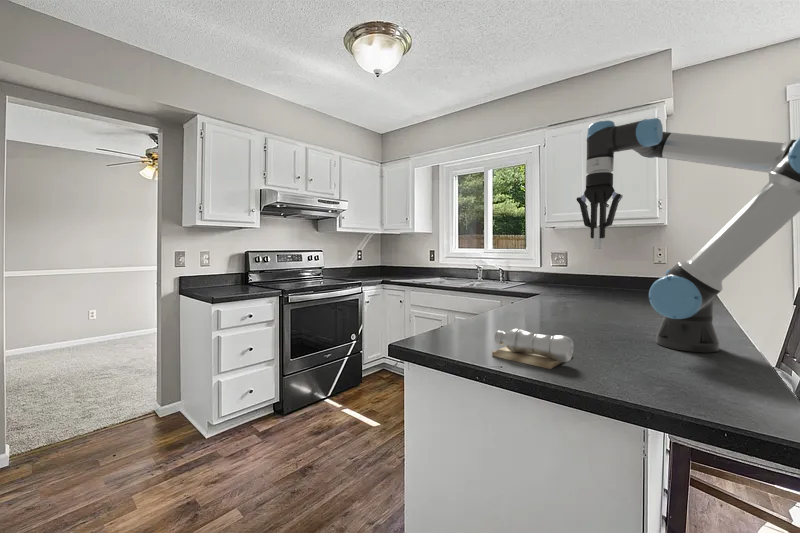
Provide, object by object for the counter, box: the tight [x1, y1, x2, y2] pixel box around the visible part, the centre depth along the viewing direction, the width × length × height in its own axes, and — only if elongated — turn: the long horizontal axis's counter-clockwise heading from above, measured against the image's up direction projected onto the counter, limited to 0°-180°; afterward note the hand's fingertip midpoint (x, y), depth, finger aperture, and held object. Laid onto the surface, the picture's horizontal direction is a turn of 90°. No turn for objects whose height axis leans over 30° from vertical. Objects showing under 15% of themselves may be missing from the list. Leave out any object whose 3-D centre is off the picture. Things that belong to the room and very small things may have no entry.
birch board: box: [491, 345, 563, 370], centre depth 102 cm, size 16×15×1 cm
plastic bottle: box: [494, 328, 574, 363], centre depth 98 cm, size 6×7×20 cm
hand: (597, 248), depth 117 cm, fingers closed
